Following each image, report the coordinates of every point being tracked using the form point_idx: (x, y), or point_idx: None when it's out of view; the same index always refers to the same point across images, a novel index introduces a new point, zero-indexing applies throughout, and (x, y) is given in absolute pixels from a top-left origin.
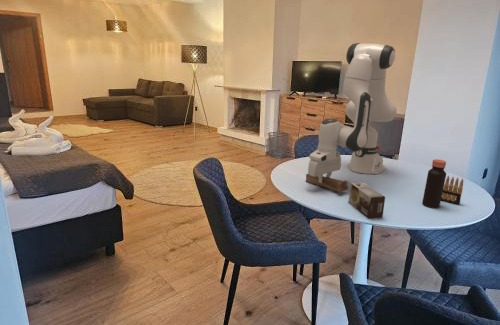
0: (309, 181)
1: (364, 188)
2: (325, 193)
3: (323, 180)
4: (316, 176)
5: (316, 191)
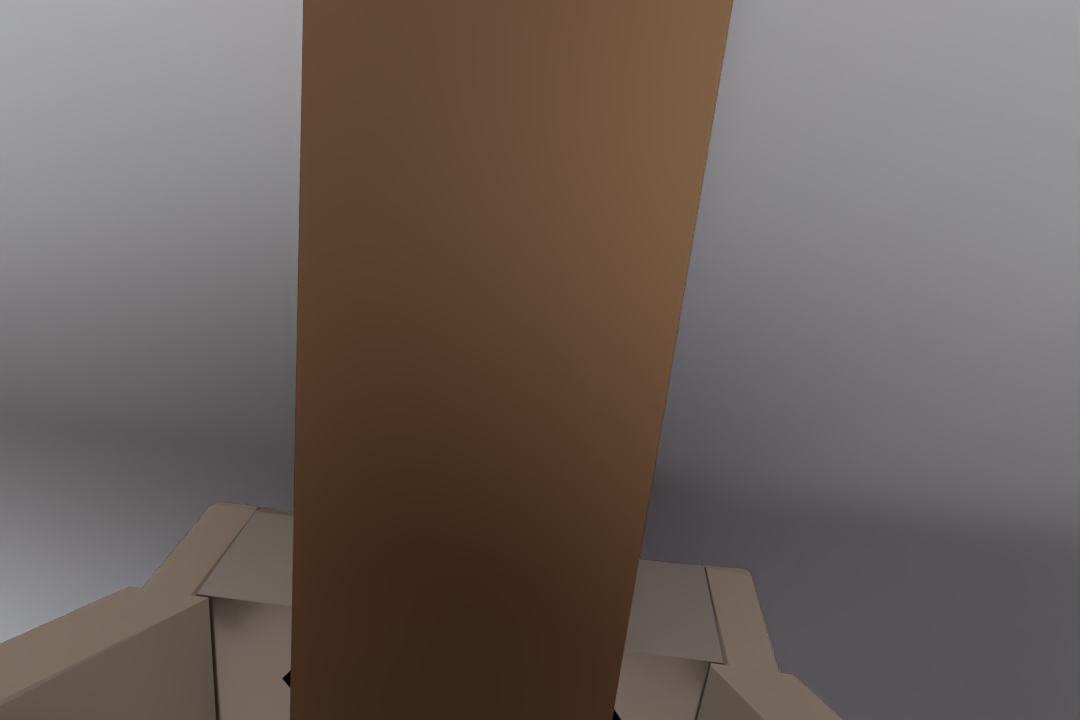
0: None
1: None
2: None
3: None
4: (346, 295)
5: (56, 496)
